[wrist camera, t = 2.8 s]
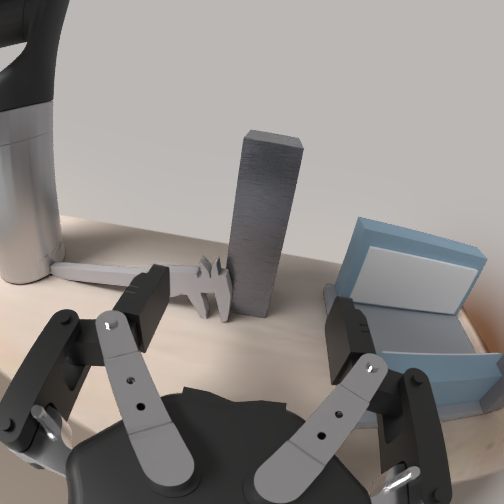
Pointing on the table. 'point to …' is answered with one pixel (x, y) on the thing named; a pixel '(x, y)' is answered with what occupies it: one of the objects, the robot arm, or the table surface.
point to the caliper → (181, 281)
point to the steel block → (261, 217)
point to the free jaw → (456, 376)
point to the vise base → (409, 294)
